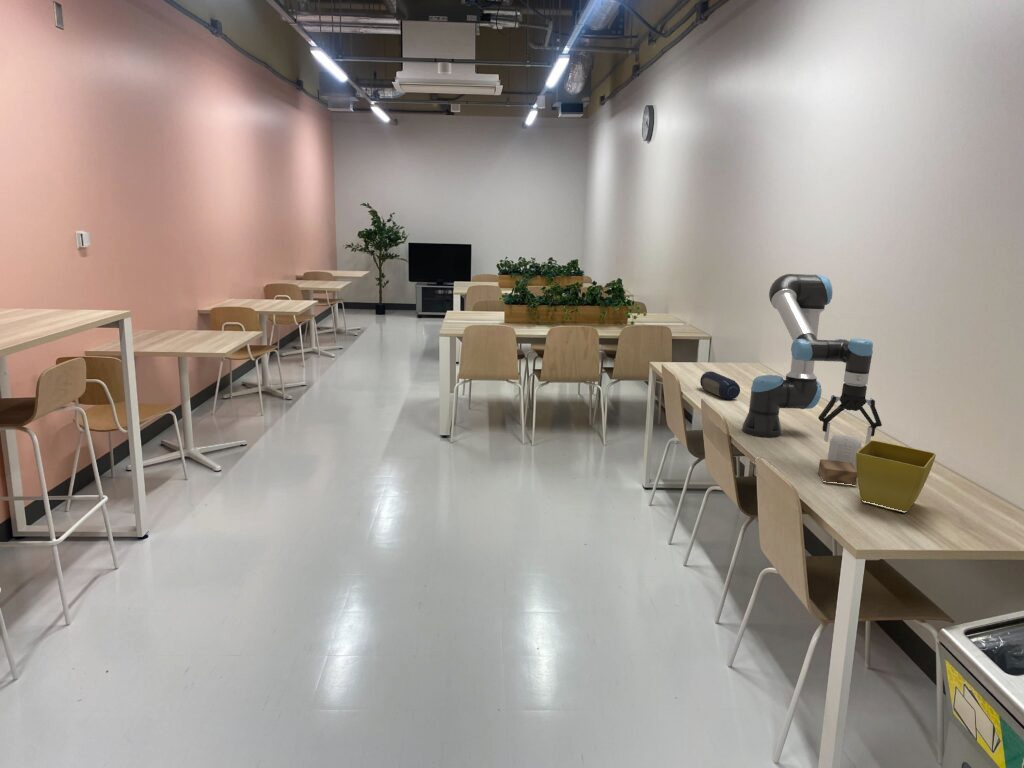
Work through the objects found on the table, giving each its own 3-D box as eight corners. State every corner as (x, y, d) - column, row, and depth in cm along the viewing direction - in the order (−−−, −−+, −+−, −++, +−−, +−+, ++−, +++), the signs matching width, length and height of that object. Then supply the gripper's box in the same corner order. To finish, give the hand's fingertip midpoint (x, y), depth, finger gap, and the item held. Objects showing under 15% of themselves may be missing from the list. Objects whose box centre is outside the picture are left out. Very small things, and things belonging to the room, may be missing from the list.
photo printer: (858, 470, 254) (863, 437, 251) (857, 473, 250) (862, 440, 247) (826, 464, 258) (831, 431, 255) (825, 467, 255) (830, 434, 252)
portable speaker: (696, 389, 363) (697, 369, 361) (713, 388, 366) (715, 369, 364) (723, 402, 340) (725, 381, 338) (741, 401, 343) (743, 381, 340)
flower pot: (863, 486, 238) (871, 438, 234) (927, 502, 226) (937, 452, 222) (847, 503, 224) (855, 452, 220) (915, 521, 212) (924, 468, 208)
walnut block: (823, 482, 240) (825, 468, 239) (818, 472, 249) (820, 459, 248) (855, 486, 238) (857, 472, 237) (849, 476, 247) (851, 462, 246)
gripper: (818, 383, 246) (810, 441, 251) (897, 389, 240) (887, 449, 245) (814, 378, 253) (807, 436, 258) (891, 384, 247) (882, 443, 252)
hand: (846, 442), depth 251 cm, fingers open, 13 cm apart
